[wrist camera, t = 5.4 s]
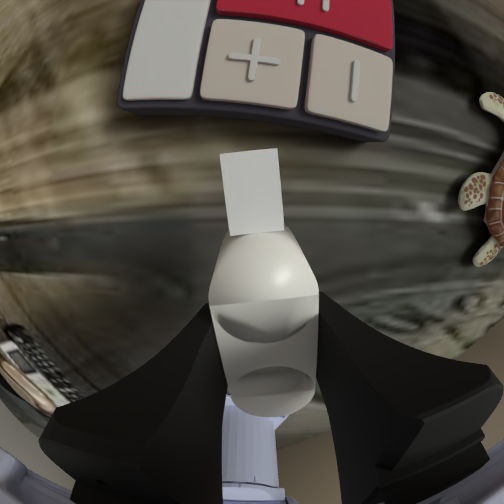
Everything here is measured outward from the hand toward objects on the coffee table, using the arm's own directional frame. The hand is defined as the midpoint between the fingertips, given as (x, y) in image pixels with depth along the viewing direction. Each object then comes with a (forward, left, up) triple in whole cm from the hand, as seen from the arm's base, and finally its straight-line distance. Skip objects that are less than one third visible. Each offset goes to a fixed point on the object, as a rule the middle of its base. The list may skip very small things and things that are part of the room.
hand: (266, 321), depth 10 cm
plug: (+1, +1, -2) cm, 2 cm away
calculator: (+12, +5, -9) cm, 16 cm away
